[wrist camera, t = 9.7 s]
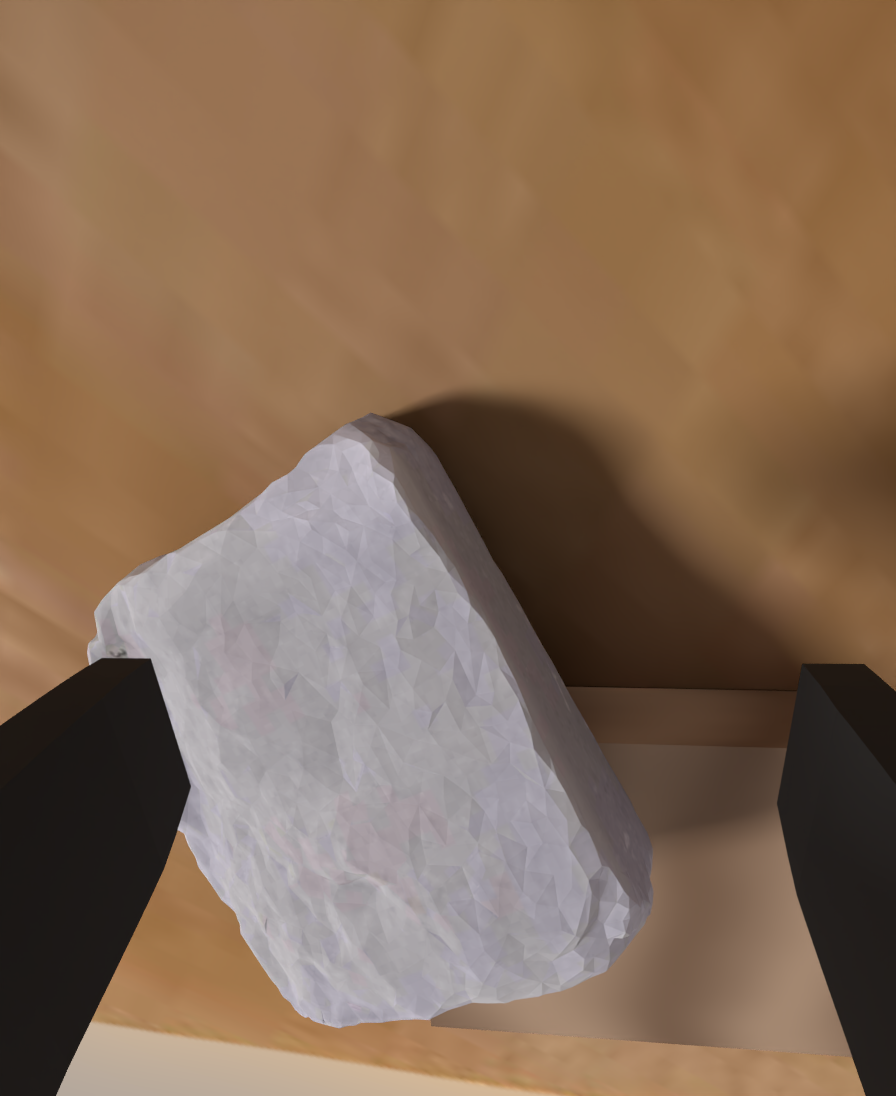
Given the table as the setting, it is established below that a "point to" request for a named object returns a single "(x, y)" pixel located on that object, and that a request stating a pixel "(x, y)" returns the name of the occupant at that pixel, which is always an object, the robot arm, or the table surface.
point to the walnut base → (697, 887)
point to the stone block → (382, 745)
